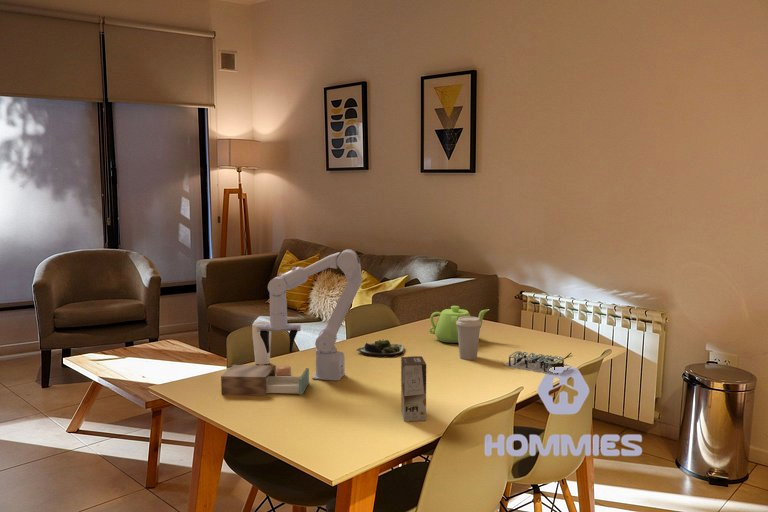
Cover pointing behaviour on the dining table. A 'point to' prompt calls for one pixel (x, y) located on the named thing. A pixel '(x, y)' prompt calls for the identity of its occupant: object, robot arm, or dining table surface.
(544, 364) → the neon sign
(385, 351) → the salad plate
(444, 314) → the teapot
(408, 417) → the coffee box
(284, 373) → the puck
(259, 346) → the white tall block
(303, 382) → the tray
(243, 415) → the dining table surface
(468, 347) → the coffee cup
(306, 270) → the robot arm
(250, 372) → the cabinet
